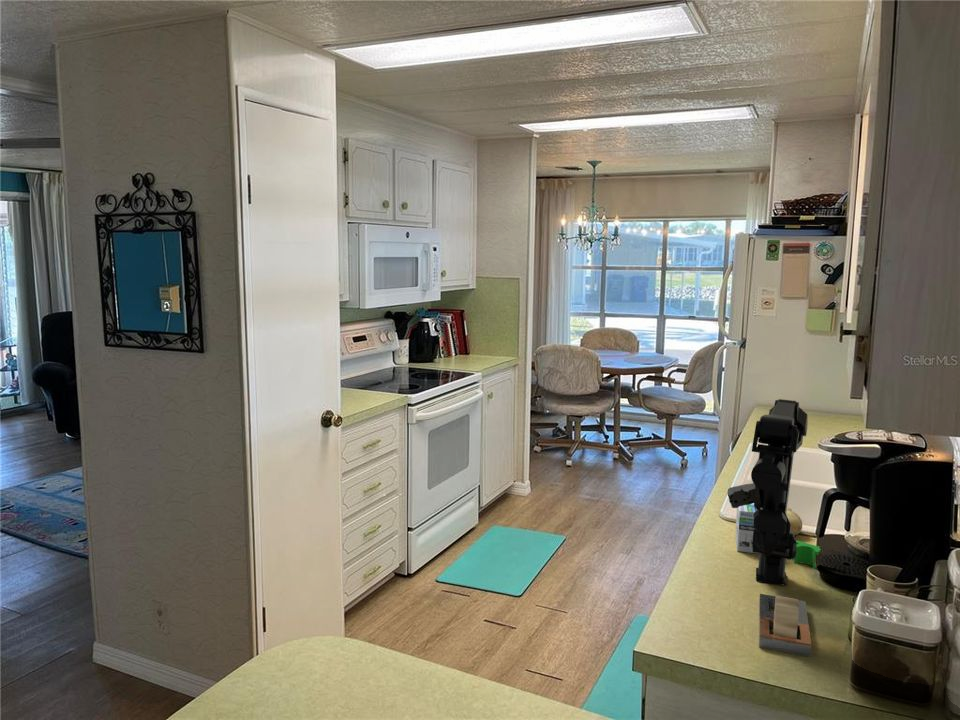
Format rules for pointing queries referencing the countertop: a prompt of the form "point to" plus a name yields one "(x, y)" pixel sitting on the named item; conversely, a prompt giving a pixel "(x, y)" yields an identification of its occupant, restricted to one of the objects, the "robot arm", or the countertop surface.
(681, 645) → the countertop surface
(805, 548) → the pipe clamp
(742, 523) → the light bulb box
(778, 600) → the beech peg
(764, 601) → the grey board
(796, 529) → the onion
